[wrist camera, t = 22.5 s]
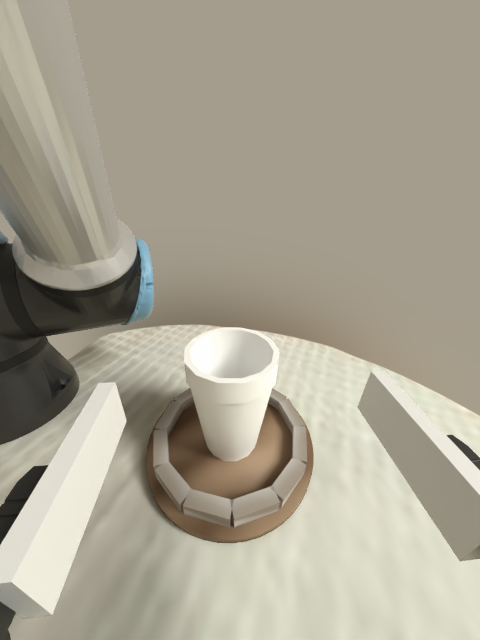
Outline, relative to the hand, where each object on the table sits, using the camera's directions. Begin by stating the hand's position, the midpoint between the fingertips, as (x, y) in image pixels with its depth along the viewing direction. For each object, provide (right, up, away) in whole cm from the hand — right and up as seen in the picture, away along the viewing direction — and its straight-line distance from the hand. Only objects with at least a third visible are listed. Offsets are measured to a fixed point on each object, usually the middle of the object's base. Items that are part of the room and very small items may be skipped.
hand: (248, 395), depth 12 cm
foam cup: (-2, -11, +17) cm, 20 cm away
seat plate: (-2, -11, +18) cm, 21 cm away
